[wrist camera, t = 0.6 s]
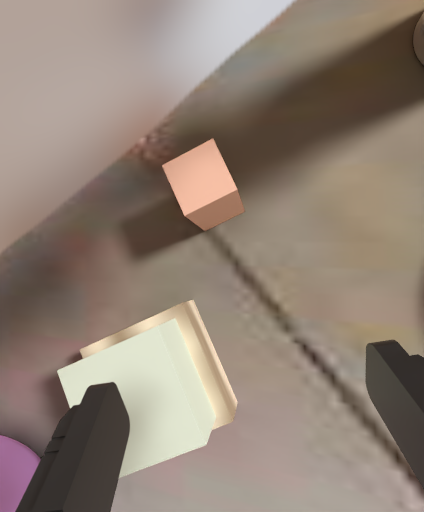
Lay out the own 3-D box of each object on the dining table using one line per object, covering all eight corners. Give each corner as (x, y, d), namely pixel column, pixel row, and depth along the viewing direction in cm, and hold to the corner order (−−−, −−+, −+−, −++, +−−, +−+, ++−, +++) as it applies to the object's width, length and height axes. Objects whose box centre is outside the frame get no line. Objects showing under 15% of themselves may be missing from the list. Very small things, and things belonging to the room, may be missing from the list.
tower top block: (175, 317, 31) (157, 325, 26) (216, 416, 29) (206, 444, 24) (89, 356, 32) (56, 370, 27) (124, 452, 31) (97, 486, 26)
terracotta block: (226, 172, 36) (213, 138, 27) (244, 211, 35) (237, 189, 26) (187, 192, 36) (161, 165, 27) (205, 231, 36) (184, 215, 27)
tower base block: (193, 299, 36) (182, 302, 31) (237, 400, 34) (233, 421, 29) (104, 340, 37) (79, 349, 32) (142, 439, 36) (122, 465, 31)
